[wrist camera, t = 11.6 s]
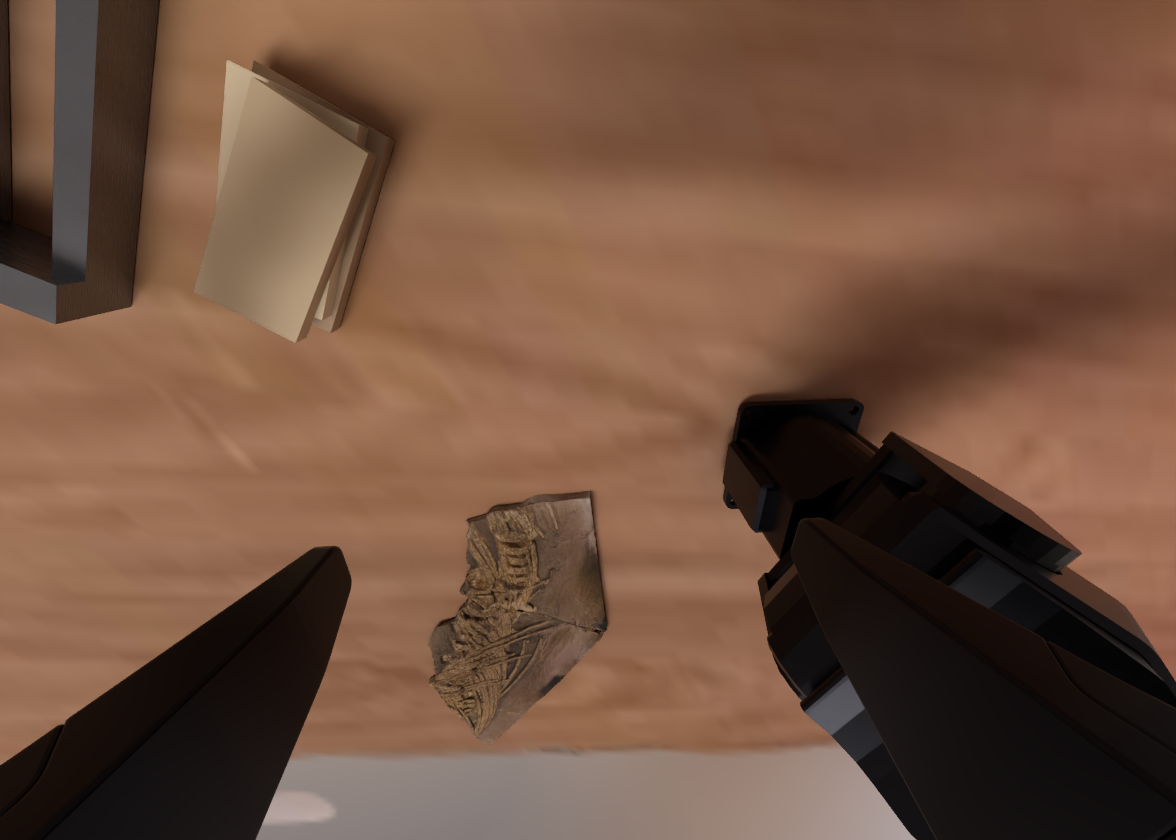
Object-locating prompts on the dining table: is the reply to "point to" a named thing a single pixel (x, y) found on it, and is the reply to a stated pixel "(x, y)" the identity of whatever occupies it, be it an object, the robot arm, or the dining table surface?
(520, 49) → the dining table surface
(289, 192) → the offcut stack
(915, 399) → the dining table surface
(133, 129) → the slot rack
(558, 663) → the carved relief fragment
